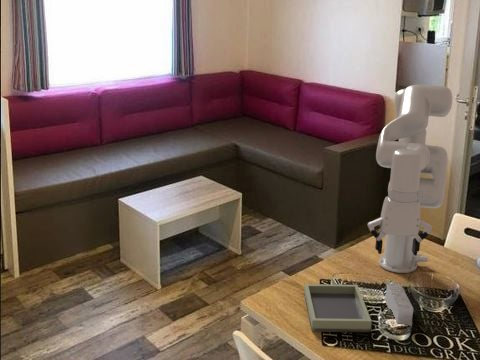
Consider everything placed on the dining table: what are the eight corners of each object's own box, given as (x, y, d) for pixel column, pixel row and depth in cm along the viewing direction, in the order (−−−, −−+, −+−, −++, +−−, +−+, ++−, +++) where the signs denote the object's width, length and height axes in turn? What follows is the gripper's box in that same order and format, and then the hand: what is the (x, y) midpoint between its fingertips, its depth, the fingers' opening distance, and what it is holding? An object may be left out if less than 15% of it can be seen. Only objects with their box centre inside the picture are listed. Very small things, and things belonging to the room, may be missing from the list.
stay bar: (398, 301, 172) (400, 283, 170) (411, 327, 159) (413, 308, 157) (385, 301, 172) (387, 283, 170) (396, 327, 159) (398, 308, 157)
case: (356, 295, 175) (357, 284, 173) (370, 332, 156) (371, 321, 155) (304, 294, 175) (304, 284, 173) (311, 331, 156) (312, 320, 154)
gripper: (432, 191, 157) (425, 248, 162) (368, 189, 158) (363, 245, 163) (439, 200, 150) (431, 260, 155) (372, 198, 151) (367, 257, 156)
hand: (396, 252), depth 159 cm, fingers open, 9 cm apart
